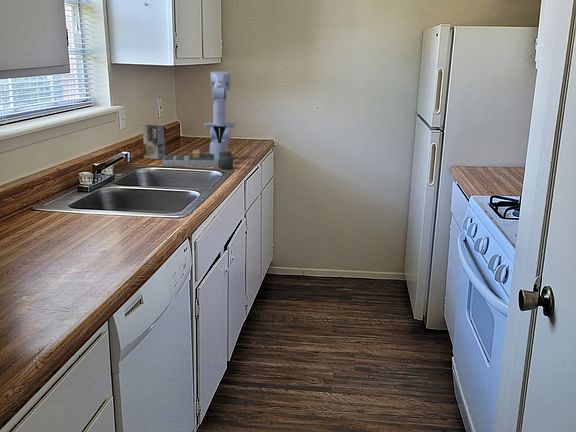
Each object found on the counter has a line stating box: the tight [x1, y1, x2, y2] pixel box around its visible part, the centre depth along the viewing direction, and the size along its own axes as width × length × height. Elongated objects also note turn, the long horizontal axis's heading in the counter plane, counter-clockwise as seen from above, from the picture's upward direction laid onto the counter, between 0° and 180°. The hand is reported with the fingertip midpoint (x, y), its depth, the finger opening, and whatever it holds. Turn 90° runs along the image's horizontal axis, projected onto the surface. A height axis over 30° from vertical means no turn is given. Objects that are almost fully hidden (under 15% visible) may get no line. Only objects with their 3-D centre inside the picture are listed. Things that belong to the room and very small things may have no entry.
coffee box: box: [142, 124, 167, 160], centre depth 290 cm, size 9×6×16 cm
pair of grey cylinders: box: [219, 151, 234, 170], centre depth 275 cm, size 6×21×5 cm, turn 8°
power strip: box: [161, 149, 220, 168], centre depth 276 cm, size 26×13×6 cm, turn 98°
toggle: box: [192, 151, 200, 158], centre depth 273 cm, size 3×4×3 cm
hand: (219, 142), depth 275 cm, fingers closed
